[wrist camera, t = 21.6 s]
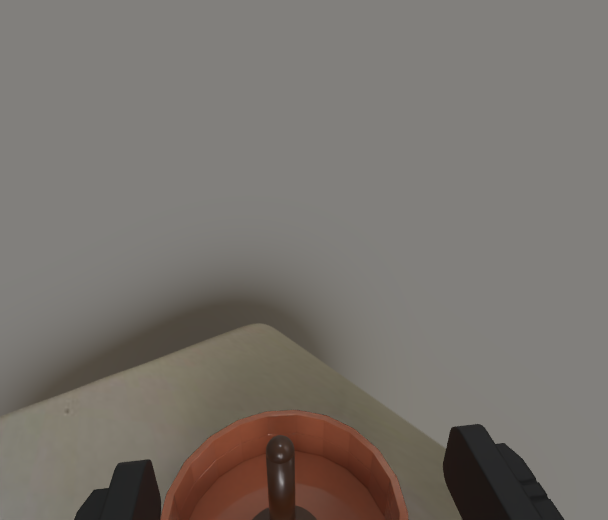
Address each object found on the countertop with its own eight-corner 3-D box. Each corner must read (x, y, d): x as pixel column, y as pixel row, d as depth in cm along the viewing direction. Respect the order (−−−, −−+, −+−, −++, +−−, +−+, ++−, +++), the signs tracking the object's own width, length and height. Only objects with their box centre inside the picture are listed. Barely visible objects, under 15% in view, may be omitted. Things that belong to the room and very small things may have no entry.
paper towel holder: (314, 504, 34) (317, 394, 28) (337, 593, 28) (346, 476, 23) (237, 522, 32) (224, 410, 27) (244, 619, 27) (230, 501, 21)
